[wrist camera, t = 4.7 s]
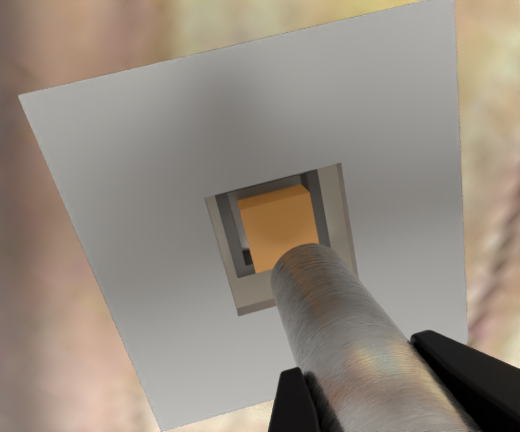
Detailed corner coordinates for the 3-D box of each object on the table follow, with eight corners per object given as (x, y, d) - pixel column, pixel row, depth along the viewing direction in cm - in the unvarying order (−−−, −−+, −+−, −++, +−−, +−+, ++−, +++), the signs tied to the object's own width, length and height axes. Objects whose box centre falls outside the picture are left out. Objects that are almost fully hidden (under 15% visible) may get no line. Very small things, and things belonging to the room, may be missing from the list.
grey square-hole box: (384, 21, 17) (453, -7, 12) (410, 287, 21) (468, 342, 17) (73, 94, 16) (17, 95, 11) (171, 354, 21) (161, 431, 16)
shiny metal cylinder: (340, 234, 11) (1056, 993, 2) (350, 301, 12) (882, 1071, 3) (262, 254, 11) (584, 1193, 2) (279, 321, 12) (558, 1209, 2)
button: (300, 183, 16) (309, 192, 14) (312, 242, 17) (321, 255, 15) (236, 200, 16) (239, 210, 14) (252, 259, 17) (256, 273, 15)
